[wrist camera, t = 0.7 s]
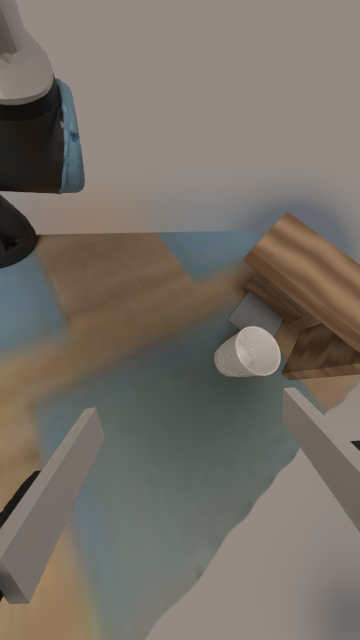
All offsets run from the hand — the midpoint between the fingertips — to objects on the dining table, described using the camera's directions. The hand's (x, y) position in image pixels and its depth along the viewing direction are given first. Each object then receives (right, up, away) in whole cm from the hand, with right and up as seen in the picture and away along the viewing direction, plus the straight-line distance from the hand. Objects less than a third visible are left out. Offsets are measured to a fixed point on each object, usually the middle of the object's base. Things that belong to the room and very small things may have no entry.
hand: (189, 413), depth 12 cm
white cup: (+10, -2, +24) cm, 26 cm away
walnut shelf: (+19, +6, +29) cm, 35 cm away
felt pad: (+18, +7, +29) cm, 35 cm away
